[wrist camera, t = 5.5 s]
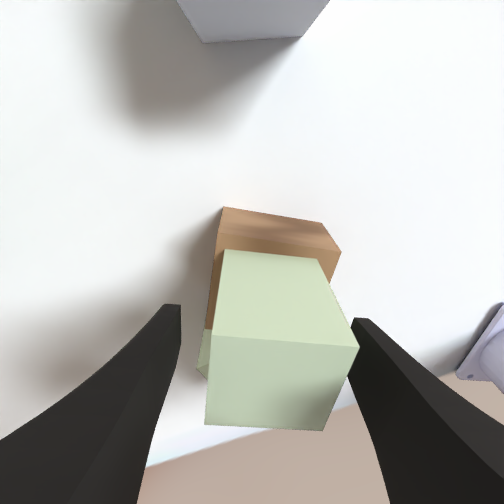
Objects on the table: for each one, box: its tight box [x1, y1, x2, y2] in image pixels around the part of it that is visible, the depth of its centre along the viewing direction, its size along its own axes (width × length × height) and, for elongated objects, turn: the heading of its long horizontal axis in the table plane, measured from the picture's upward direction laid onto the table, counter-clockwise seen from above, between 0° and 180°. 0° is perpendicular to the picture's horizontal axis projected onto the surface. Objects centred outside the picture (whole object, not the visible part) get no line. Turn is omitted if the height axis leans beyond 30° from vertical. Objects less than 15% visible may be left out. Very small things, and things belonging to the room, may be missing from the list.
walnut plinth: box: [205, 207, 341, 330], centre depth 16 cm, size 6×6×4 cm
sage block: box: [204, 249, 360, 431], centre depth 11 cm, size 4×4×6 cm
